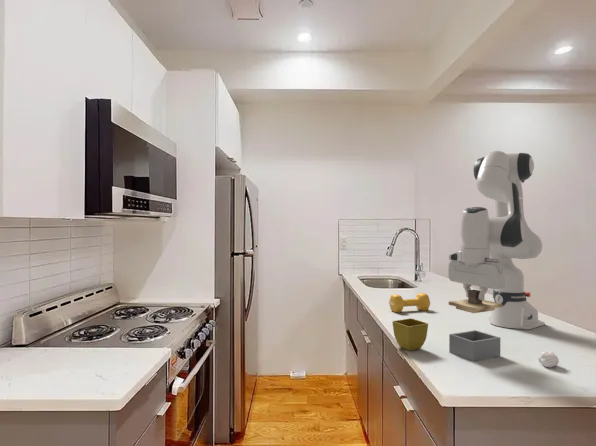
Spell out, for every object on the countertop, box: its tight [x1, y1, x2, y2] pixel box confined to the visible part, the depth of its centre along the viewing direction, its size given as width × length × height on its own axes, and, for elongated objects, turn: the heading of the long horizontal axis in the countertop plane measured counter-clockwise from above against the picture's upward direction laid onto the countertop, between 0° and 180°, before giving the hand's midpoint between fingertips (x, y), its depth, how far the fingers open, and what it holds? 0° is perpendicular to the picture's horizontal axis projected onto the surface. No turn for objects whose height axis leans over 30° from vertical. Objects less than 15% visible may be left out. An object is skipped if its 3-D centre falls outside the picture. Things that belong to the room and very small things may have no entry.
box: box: [448, 329, 501, 362], centre depth 138 cm, size 12×10×6 cm
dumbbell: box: [388, 292, 431, 314], centre depth 203 cm, size 19×9×8 cm, turn 106°
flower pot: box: [392, 318, 429, 352], centre depth 145 cm, size 9×9×9 cm
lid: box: [448, 289, 503, 314], centre depth 138 cm, size 13×11×6 cm
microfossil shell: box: [537, 351, 560, 368], centre depth 128 cm, size 4×5×6 cm
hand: (475, 298), depth 138 cm, fingers closed on lid, 3 cm apart
